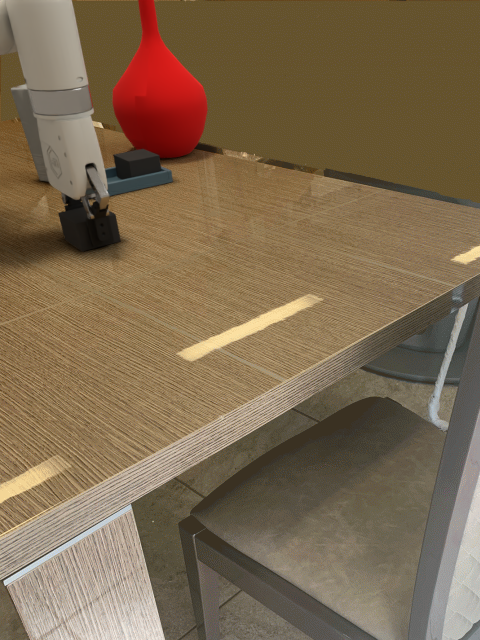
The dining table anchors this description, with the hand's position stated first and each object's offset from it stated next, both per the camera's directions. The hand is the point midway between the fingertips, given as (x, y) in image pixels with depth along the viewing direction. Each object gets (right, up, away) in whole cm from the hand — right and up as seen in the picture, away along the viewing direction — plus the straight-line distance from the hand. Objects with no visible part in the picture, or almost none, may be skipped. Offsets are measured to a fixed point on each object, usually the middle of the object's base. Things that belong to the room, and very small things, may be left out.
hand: (91, 236), depth 93 cm
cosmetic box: (-14, +18, +25) cm, 33 cm away
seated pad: (0, +18, +23) cm, 29 cm away
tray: (-2, +16, +22) cm, 27 cm away
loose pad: (0, -1, 0) cm, 1 cm away
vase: (+2, +29, +39) cm, 49 cm away
